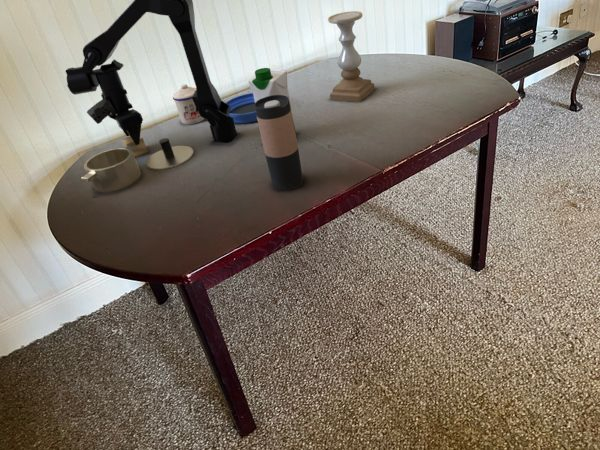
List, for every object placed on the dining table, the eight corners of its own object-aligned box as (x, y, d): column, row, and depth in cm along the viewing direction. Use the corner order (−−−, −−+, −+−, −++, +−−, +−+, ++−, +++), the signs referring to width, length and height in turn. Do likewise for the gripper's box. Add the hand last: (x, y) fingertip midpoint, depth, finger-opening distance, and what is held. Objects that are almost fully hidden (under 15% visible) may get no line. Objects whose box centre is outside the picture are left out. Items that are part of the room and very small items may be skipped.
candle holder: (375, 88, 150) (370, 9, 137) (360, 102, 143) (353, 20, 130) (345, 87, 156) (337, 11, 142) (329, 99, 149) (319, 21, 135)
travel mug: (271, 177, 113) (253, 98, 101) (302, 172, 113) (288, 92, 101) (272, 193, 107) (253, 111, 95) (305, 187, 106) (290, 104, 95)
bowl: (214, 124, 148) (211, 113, 146) (240, 102, 161) (238, 92, 159) (264, 125, 141) (262, 114, 139) (287, 101, 154) (285, 91, 152)
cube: (143, 148, 141) (137, 133, 138) (148, 153, 137) (142, 137, 134) (127, 154, 139) (121, 139, 136) (132, 159, 135) (126, 144, 132)
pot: (156, 166, 129) (148, 144, 125) (112, 201, 116) (101, 177, 112) (123, 163, 134) (114, 142, 130) (77, 196, 121) (65, 173, 117)
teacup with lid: (185, 127, 149) (174, 92, 143) (177, 120, 156) (166, 86, 150) (219, 115, 153) (210, 81, 147) (210, 109, 160) (201, 75, 154)
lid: (203, 150, 133) (197, 130, 129) (175, 173, 123) (168, 153, 120) (167, 147, 138) (160, 129, 135) (137, 170, 129) (129, 150, 125)
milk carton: (259, 145, 129) (243, 73, 118) (274, 131, 136) (259, 62, 124) (287, 146, 126) (273, 73, 114) (301, 132, 132) (289, 61, 121)
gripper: (76, 90, 130) (98, 141, 139) (90, 105, 117) (114, 160, 126) (114, 78, 135) (134, 128, 144) (132, 91, 121) (153, 145, 130)
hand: (133, 140), depth 136 cm, fingers open, 9 cm apart
